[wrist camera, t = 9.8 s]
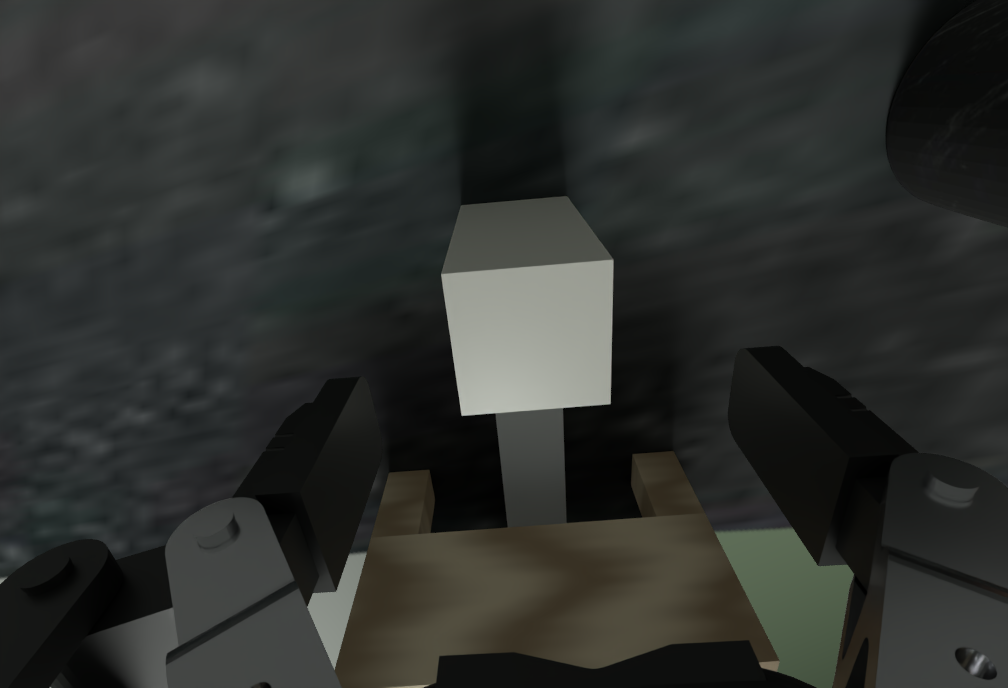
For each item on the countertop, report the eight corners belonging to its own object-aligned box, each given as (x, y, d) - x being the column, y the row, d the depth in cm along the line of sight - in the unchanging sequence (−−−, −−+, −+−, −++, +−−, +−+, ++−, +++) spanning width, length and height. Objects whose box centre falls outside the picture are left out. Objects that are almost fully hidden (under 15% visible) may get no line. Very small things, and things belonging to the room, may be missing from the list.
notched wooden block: (673, 450, 24) (779, 660, 15) (661, 575, 28) (739, 798, 19) (389, 472, 24) (328, 691, 15) (418, 592, 28) (383, 821, 19)
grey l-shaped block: (461, 205, 19) (441, 274, 11) (566, 195, 18) (613, 259, 11) (499, 529, 26) (501, 691, 19) (574, 523, 26) (604, 684, 19)
